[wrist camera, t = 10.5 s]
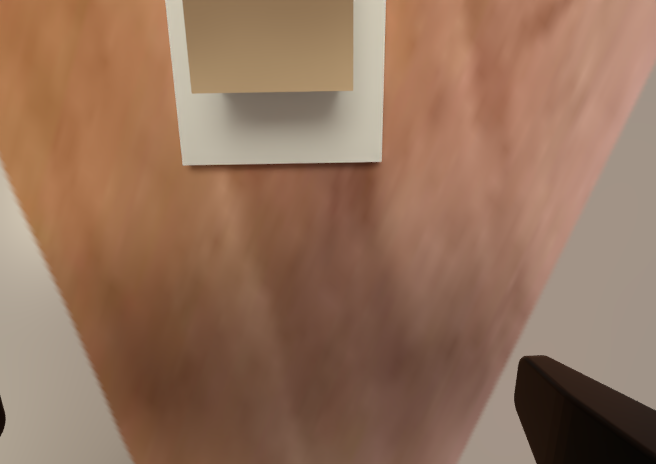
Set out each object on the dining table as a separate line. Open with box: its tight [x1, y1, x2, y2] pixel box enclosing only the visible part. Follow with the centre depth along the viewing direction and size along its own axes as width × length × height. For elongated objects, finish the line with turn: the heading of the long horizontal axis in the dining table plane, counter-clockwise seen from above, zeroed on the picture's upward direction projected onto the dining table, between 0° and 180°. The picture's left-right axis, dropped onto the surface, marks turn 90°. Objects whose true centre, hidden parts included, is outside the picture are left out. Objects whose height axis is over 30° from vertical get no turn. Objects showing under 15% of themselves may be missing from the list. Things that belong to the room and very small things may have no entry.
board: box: [165, 0, 386, 165], centre depth 16 cm, size 10×7×1 cm
